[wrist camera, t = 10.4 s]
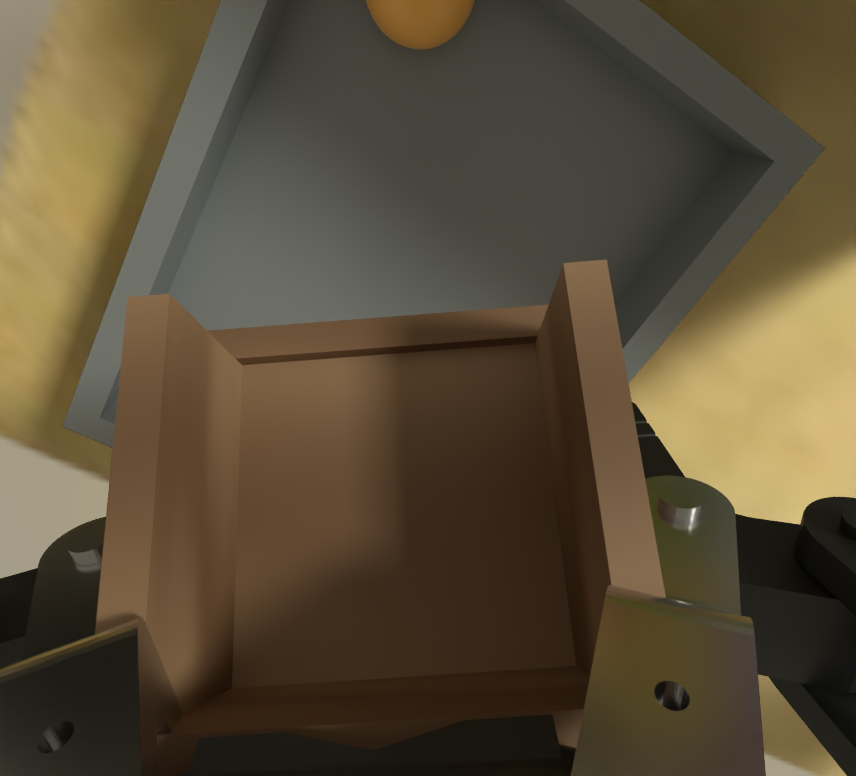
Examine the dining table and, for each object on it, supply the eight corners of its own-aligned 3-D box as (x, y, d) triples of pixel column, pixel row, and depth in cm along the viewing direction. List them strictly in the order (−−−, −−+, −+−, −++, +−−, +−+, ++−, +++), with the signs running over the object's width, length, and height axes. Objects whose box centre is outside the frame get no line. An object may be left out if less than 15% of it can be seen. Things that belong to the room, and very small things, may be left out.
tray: (335, -193, 16) (317, -258, 13) (761, 137, 20) (825, 148, 17) (108, 380, 24) (62, 426, 21) (448, 535, 28) (453, 592, 25)
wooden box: (542, 644, 14) (696, 764, 5) (313, 659, 14) (78, 802, 5) (517, 420, 16) (600, 221, 7) (311, 435, 16) (131, 259, 7)
